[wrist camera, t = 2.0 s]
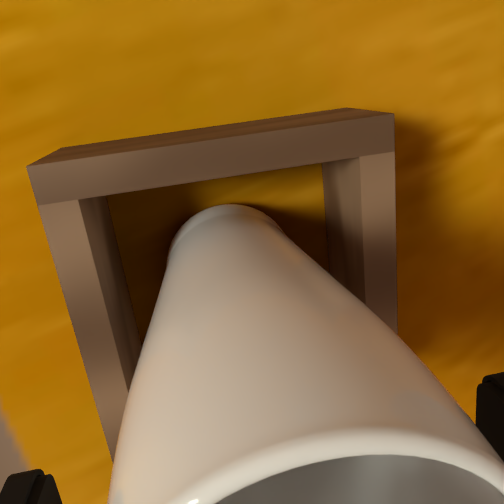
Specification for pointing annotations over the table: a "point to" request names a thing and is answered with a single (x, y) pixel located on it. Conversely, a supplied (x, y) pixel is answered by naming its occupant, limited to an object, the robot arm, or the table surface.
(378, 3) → the table surface
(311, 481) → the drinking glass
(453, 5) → the table surface
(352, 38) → the table surface
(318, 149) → the frame
